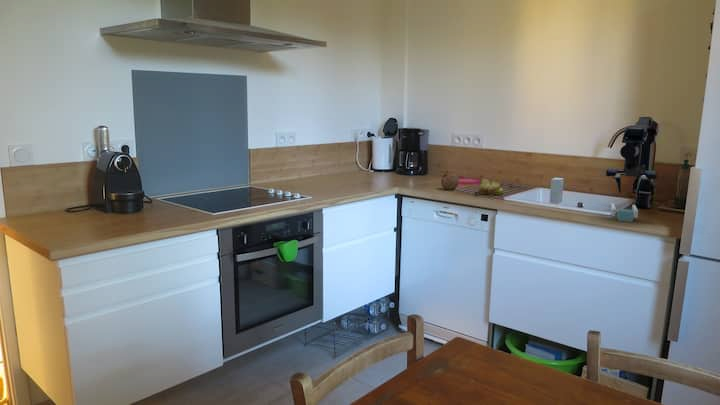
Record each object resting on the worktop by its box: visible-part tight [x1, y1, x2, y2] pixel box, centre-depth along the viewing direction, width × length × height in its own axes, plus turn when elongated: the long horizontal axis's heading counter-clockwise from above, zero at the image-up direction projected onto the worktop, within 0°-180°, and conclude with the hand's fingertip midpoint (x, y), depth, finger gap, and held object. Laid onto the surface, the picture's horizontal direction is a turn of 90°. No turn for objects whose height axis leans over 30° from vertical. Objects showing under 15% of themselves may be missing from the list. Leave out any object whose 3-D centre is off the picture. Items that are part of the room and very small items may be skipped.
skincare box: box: [548, 177, 565, 205], centre depth 251 cm, size 6×4×12 cm
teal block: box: [617, 208, 634, 223], centre depth 219 cm, size 6×6×4 cm
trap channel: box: [609, 202, 639, 219], centre depth 230 cm, size 15×10×3 cm, turn 157°
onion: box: [440, 173, 459, 191], centre depth 284 cm, size 10×9×10 cm
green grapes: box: [478, 177, 504, 196], centre depth 272 cm, size 13×10×8 cm
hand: (628, 193), depth 217 cm, fingers open, 6 cm apart
